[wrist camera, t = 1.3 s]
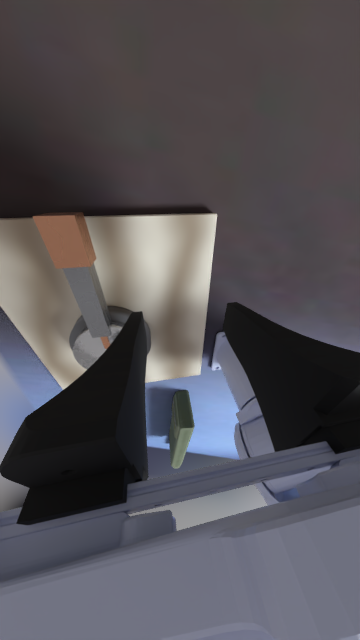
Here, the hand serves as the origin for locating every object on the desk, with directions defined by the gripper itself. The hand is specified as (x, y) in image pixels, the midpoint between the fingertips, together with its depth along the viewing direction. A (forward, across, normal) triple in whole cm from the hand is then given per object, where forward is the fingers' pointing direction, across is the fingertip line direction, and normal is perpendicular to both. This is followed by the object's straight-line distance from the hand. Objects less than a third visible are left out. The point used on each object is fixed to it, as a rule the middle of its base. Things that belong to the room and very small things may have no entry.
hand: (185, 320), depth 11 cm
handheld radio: (+9, 0, +35) cm, 36 cm away
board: (+8, +6, +6) cm, 12 cm away
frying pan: (+6, +7, +2) cm, 9 cm away
